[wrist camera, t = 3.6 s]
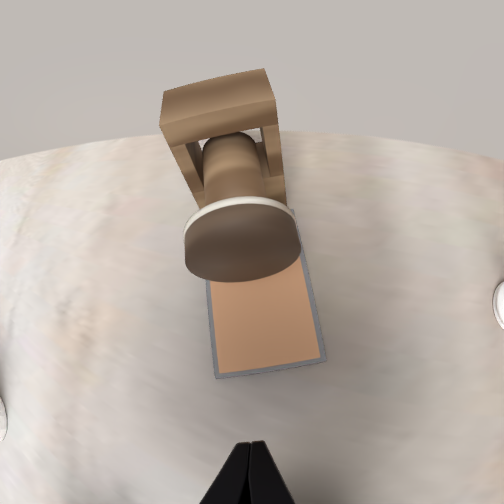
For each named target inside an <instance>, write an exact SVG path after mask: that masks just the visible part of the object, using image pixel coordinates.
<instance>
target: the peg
mask: <svg viewBox="0 0 504 504" xmlns="http://www.w3.org/2000/svg"><path fill="white" fill-rule="evenodd" d="M202 154H203V175H204V194H205V207H203V208H202V209H200V210H199V211H197V212H196V213H195V214H193V215H192V216H191V217H190V218H189V220H188V221H187V222H186V225H185V227H184V244H185V264H186V267H187V268H188V270H189V271H190V272H191V273H193V274H194V275H196V276H198V277H200V278H203V279H206V280H210V281H215V282H226V283H234V282H246V281H253V280H257V279H261V278H265V277H268V276H271V275H274V274H276V273H278V272H281V271H283V270H284V269H286V268H288V267H289V266H291V265H292V264H293V263H294V262H295V261H296V260H297V259H298V257H299V256H300V253H301V244H300V240H299V235H298V231H297V223H296V219H295V216H294V214H293V212H292V211H291V210H290V209H289V208H288V207H287V206H285V205H284V204H282V203H280V202H278V201H275V200H272V199H269V198H267V195H266V190H265V186H264V181H263V176H262V171H261V166H260V162H259V157H258V152H257V148H256V144H255V142H254V140H253V139H252V138H251V137H250V136H249V135H247V134H245V133H242V132H234V133H230V134H225V135H221V136H216V137H212V138H210V139H209V140H208V141H207V142H206V143H205V145H204V147H203V151H202Z"/></svg>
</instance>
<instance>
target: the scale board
mask: <svg viewBox="0 0 504 504" xmlns="http://www.w3.org/2000/svg"><path fill="white" fill-rule="evenodd" d="M290 210H291V211H292V212H293V214H294V210H293V209H290ZM294 216H295V214H294ZM295 219H296V218H295ZM296 223H297V222H296ZM297 231H298V235H299V230H298V226H297ZM299 240H300V244H301V253H300V256H299V257H298V259H297V260H296V261H295V262H294V263H293V264H292V265H291V266H289V267H288V268H286V269H284V270H283V271H281V272H278V273H276V274H274V275H271V276H268V277H265V278H261V279H257V280H253V281H246V282H234V283H226V282H215V281H210V280H206V292H207V303H208V315H209V325H210V335H211V345H212V355H213V364H214V373H215V378H216V379H219V378H228V377H236V376H244V375H251V374H258V373H264V372H271V371H277V370H283V369H289V368H294V367H300V366H305V365H310V364H315V363H320V362H325V361H326V355H325V350H324V344H323V339H322V334H321V329H320V324H319V320H318V315H317V310H316V305H315V300H314V296H313V291H312V287H311V282H310V278H309V273H308V269H307V264H306V260H305V256H304V251H303V247H302V243H301V239H300V235H299Z"/></svg>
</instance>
